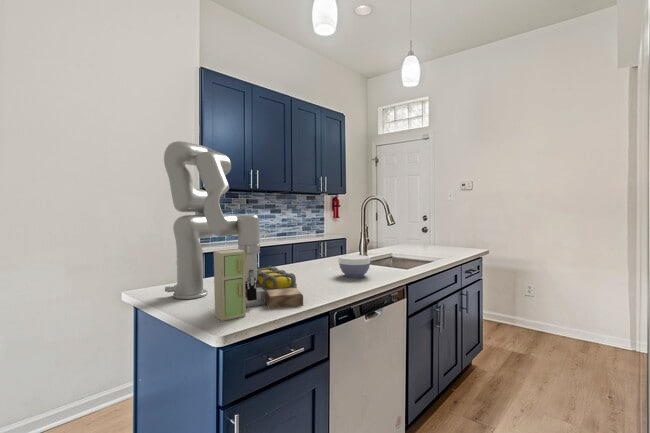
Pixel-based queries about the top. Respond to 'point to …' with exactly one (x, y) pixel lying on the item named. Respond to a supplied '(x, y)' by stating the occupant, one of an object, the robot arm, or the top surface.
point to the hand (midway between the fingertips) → (250, 296)
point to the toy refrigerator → (229, 284)
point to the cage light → (274, 279)
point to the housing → (258, 301)
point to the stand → (283, 297)
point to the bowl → (354, 265)
